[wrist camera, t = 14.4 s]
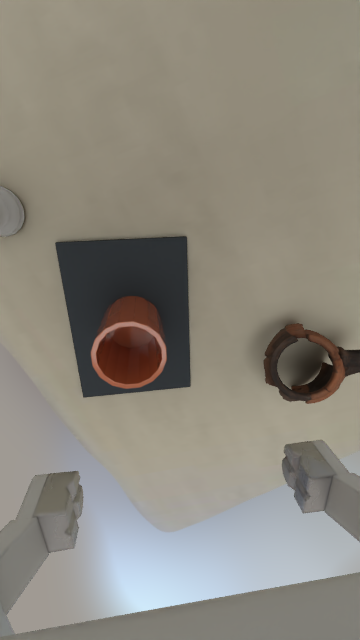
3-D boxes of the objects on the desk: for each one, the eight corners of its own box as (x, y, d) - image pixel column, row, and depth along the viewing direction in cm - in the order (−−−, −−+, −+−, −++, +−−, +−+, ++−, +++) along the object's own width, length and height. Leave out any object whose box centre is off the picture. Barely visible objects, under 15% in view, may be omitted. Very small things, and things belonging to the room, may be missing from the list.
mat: (56, 242, 28) (54, 242, 28) (185, 236, 29) (186, 236, 29) (84, 394, 34) (83, 397, 34) (189, 384, 36) (190, 386, 35)
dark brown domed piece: (271, 399, 39) (275, 418, 31) (252, 332, 40) (251, 334, 32) (367, 381, 36) (399, 397, 28) (345, 309, 37) (370, 305, 29)
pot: (100, 297, 30) (85, 324, 22) (159, 293, 31) (164, 319, 23) (107, 351, 32) (96, 391, 25) (162, 346, 33) (168, 384, 25)
